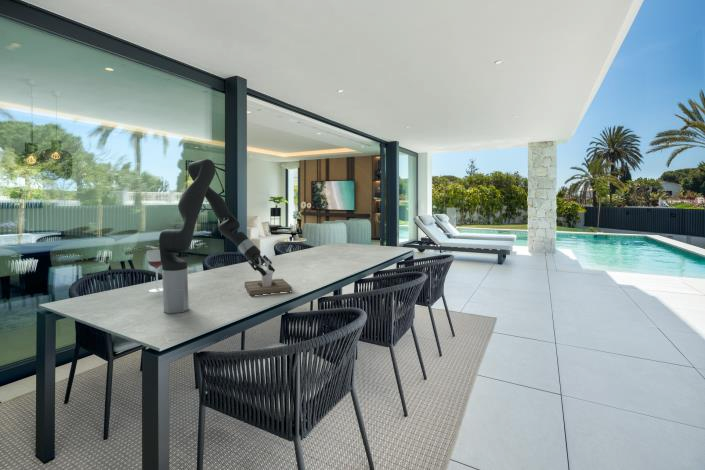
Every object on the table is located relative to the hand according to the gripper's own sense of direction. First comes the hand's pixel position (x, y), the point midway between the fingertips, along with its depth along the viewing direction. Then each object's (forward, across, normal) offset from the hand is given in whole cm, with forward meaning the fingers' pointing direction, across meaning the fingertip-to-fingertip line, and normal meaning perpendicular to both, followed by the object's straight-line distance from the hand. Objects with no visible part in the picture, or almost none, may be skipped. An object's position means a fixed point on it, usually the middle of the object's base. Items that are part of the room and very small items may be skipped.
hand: (269, 273), depth 180 cm
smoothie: (+5, 0, +7) cm, 9 cm away
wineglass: (-31, -18, +44) cm, 57 cm away
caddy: (+5, 0, +7) cm, 9 cm away
